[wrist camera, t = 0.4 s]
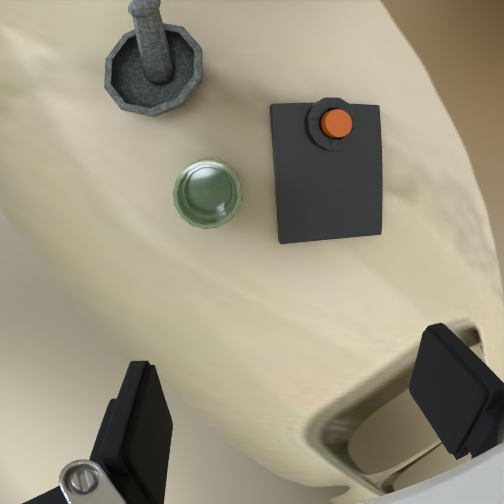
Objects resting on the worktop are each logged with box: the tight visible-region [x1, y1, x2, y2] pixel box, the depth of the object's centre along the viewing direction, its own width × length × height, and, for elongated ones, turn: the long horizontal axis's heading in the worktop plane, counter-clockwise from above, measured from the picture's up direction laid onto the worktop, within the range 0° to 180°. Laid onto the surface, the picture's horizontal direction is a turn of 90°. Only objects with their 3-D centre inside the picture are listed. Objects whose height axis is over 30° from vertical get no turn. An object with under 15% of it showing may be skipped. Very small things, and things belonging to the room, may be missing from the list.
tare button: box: [321, 109, 352, 137], centre depth 31 cm, size 3×3×2 cm
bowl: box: [173, 159, 242, 229], centre depth 34 cm, size 7×7×5 cm
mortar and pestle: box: [104, 0, 202, 117], centre depth 25 cm, size 11×9×12 cm
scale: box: [270, 98, 382, 244], centre depth 35 cm, size 16×13×3 cm
